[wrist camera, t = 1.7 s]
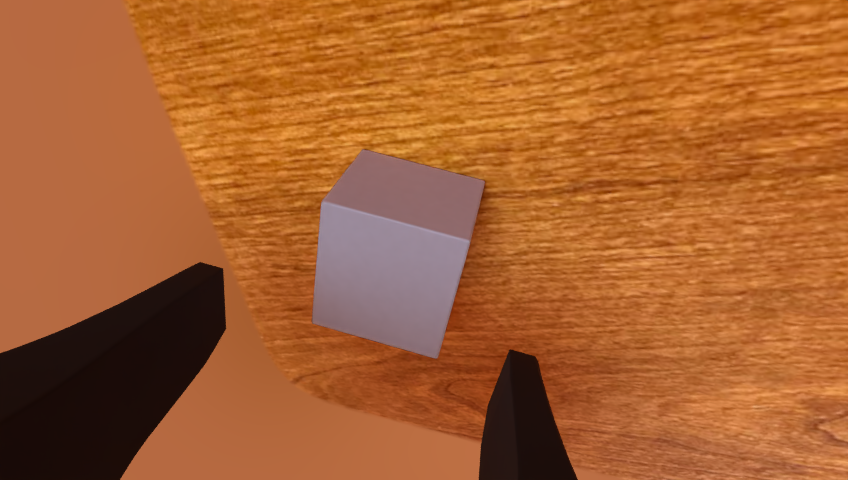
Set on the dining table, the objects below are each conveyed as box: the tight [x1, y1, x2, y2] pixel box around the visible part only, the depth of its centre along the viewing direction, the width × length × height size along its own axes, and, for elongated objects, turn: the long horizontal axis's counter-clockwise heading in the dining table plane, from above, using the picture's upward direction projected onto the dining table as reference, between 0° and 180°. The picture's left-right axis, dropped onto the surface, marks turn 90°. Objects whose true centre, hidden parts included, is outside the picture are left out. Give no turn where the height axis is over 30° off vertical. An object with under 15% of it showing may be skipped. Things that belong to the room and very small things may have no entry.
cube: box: [312, 150, 485, 359], centre depth 16 cm, size 4×4×4 cm
